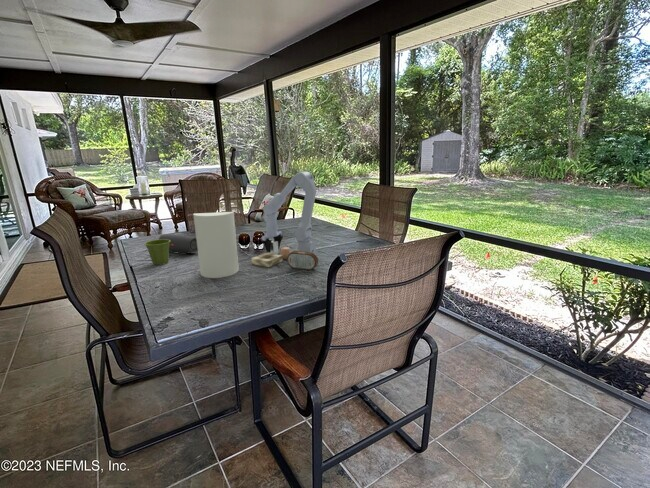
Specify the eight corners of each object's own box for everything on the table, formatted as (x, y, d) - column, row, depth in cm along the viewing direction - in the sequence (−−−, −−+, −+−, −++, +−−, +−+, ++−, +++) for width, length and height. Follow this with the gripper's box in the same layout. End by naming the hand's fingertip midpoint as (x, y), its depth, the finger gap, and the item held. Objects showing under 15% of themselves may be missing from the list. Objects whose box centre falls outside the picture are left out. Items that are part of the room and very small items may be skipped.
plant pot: (178, 261, 174) (175, 240, 171) (159, 268, 164) (155, 245, 161) (162, 258, 179) (159, 238, 176) (142, 265, 169) (138, 243, 166)
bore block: (282, 261, 171) (282, 255, 170) (268, 267, 162) (268, 261, 161) (266, 257, 176) (266, 252, 176) (251, 263, 167) (251, 258, 167)
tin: (318, 269, 158) (318, 252, 156) (316, 271, 156) (315, 254, 153) (289, 266, 163) (288, 249, 161) (286, 268, 160) (285, 251, 158)
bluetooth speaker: (158, 252, 189) (155, 235, 187) (171, 248, 198) (168, 232, 195) (189, 256, 181) (187, 238, 178) (201, 252, 189) (199, 235, 187)
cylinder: (237, 276, 151) (231, 215, 143) (197, 279, 148) (189, 216, 141) (240, 264, 167) (235, 208, 160) (204, 266, 164) (197, 210, 157)
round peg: (292, 257, 178) (291, 248, 176) (286, 259, 173) (285, 250, 172) (284, 255, 180) (284, 246, 179) (278, 258, 176) (278, 249, 175)
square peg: (278, 253, 184) (277, 241, 182) (273, 255, 181) (273, 243, 179) (272, 252, 186) (272, 240, 184) (268, 254, 183) (267, 242, 181)
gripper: (274, 222, 187) (275, 246, 191) (256, 227, 175) (258, 252, 179) (284, 224, 184) (285, 247, 187) (267, 229, 172) (268, 254, 175)
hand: (273, 250), depth 183 cm, fingers open, 7 cm apart
